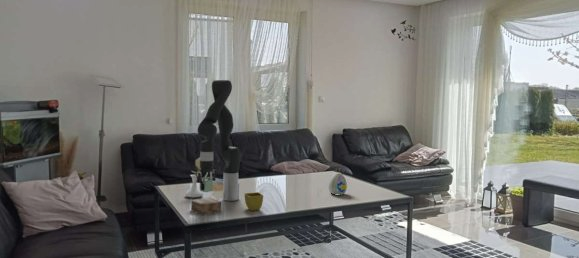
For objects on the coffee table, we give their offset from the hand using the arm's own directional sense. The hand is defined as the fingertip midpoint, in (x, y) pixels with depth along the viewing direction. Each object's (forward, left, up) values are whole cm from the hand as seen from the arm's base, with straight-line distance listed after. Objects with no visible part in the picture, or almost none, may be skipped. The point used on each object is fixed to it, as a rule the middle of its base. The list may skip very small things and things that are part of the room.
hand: (206, 189), depth 246 cm
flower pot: (-20, +18, -13) cm, 30 cm away
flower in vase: (-18, -29, -13) cm, 36 cm away
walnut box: (0, 0, -13) cm, 13 cm away
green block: (0, 0, -1) cm, 1 cm away
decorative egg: (-87, +35, -13) cm, 95 cm away
